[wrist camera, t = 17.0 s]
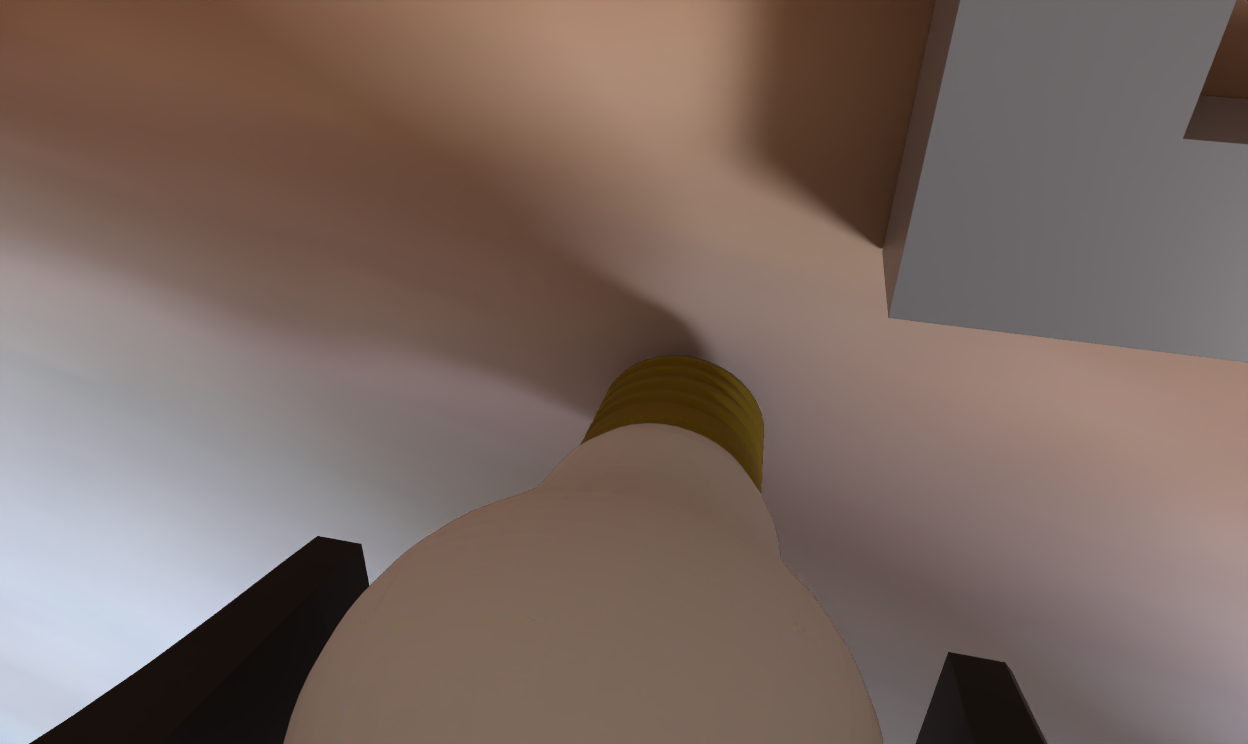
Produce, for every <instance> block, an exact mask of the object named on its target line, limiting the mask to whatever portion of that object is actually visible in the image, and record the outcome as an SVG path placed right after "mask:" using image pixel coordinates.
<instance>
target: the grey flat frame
mask: <svg viewBox="0 0 1248 744" xmlns="http://www.w3.org/2000/svg"><path fill="white" fill-rule="evenodd" d="M1236 1H1237V0H935V5H934V10H933V14H932V19H931V24H930V29H929V33H928V38H927V43H926V47H925V52H924V57H923V62H922V66H921V71H920V76H919V81H918V85H917V90H916V95H915V99H914V104H913V109H912V114H911V118H910V123H909V128H908V133H907V137H906V142H905V147H904V152H903V156H902V161H901V166H900V170H899V175H898V180H897V185H896V189H895V194H894V199H893V204H892V208H891V213H890V218H889V223H888V227H887V232H886V237H885V241H884V246H883V251H882V254H883V264H884V275H885V286H886V297H887V307H888V318H894V319H902V320H910V321H918V322H926V323H934V324H942V325H950V326H958V327H966V328H975V329H983V330H991V331H999V332H1007V333H1015V334H1023V335H1031V336H1039V337H1047V338H1055V339H1063V340H1071V341H1079V342H1087V343H1095V344H1103V345H1111V346H1119V347H1127V348H1135V349H1143V350H1151V351H1159V352H1167V353H1175V354H1183V355H1191V356H1199V357H1207V358H1215V359H1223V360H1231V361H1239V362H1247V363H1248V99H1241V98H1228V97H1216V96H1203V95H1200V93H1201V91H1202V88H1203V85H1204V83H1205V80H1206V78H1207V75H1208V73H1209V70H1210V67H1211V65H1212V62H1213V60H1214V57H1215V55H1216V52H1217V50H1218V47H1219V44H1220V42H1221V39H1222V37H1223V34H1224V32H1225V29H1226V26H1227V24H1228V21H1229V19H1230V16H1231V14H1232V11H1233V8H1234V6H1235V3H1236Z"/></svg>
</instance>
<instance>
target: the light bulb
mask: <svg viewBox="0 0 1248 744" xmlns="http://www.w3.org/2000/svg"><path fill="white" fill-rule="evenodd" d="M763 438H764V423H763V418H762V414H761V411H760V409H759V406H758V404H757V402H756V400H755V399H754V397H753V395H752V394H751V392H750V391H749V390H748V389H747V388H746V386H745V385H744V384H743V383H742V382H741V381H740V380H739V379H737V378H736V377H735V376H734V375H733V374H731V373H729V372H728V371H726V370H725V369H723V368H721V367H719V366H717V365H715V364H713V363H710V362H708V361H704V360H701V359H698V358H693V357H686V356H663V357H656V358H652V359H649V360H645V361H643V362H640V363H638V364H636V365H634V366H632V367H631V368H629V369H628V370H626V371H625V372H623V373H622V374H621V375H620V376H619V377H618V378H617V379H616V380H615V381H614V383H613V384H612V385H611V387H610V388H609V390H608V392H607V394H606V396H605V398H604V400H603V402H602V404H601V406H600V408H599V410H598V411H597V413H596V416H595V418H594V420H593V422H592V424H591V425H590V427H589V429H588V431H587V433H586V436H585V438H584V440H583V441H582V443H581V444H580V446H578V447H577V448H575V449H574V450H573V451H572V452H571V453H570V454H569V455H568V456H567V457H565V458H564V459H563V460H562V461H561V462H560V463H559V464H558V465H557V466H556V467H555V468H554V470H553V471H552V472H551V473H550V474H549V475H548V477H547V478H546V479H545V480H544V481H543V482H542V483H541V484H540V485H539V486H538V487H536V488H534V489H532V490H529V491H527V492H524V493H521V494H518V495H515V496H512V497H509V498H506V499H503V500H500V501H497V502H495V503H492V504H489V505H487V506H484V507H482V508H479V509H476V510H474V511H471V512H469V513H467V514H465V515H463V516H461V517H459V518H457V519H456V520H454V521H452V522H450V523H448V524H447V525H445V526H444V527H442V528H440V529H439V530H437V531H436V532H434V533H432V534H431V535H429V536H427V537H426V538H424V539H423V540H421V541H420V542H418V543H417V544H416V545H414V546H413V547H411V548H410V549H409V550H408V551H406V552H405V553H404V554H403V555H402V556H400V557H399V558H398V559H397V560H396V561H395V562H394V563H393V564H392V565H391V566H390V567H388V568H387V569H386V570H385V571H384V572H383V573H382V574H381V575H380V576H379V577H378V578H377V579H376V580H375V581H374V582H373V583H372V584H371V585H370V586H369V587H368V588H367V589H366V590H365V591H364V592H363V593H362V594H361V595H360V597H359V598H358V599H357V600H356V601H355V603H354V604H353V605H352V606H351V608H350V609H349V610H348V611H347V613H346V614H345V616H344V617H343V619H342V620H341V621H340V623H339V624H338V626H337V627H336V629H335V630H334V632H333V634H332V635H331V637H330V639H329V640H328V642H327V643H326V645H325V647H324V648H323V650H322V652H321V653H320V655H319V657H318V659H317V660H316V662H315V664H314V666H313V667H312V669H311V671H310V673H309V675H308V677H307V679H306V681H305V683H304V685H303V688H302V690H301V692H300V694H299V697H298V699H297V702H296V705H295V707H294V710H293V713H292V716H291V719H290V722H289V726H288V729H287V733H286V736H285V740H284V743H283V744H883V738H882V734H881V730H880V726H879V723H878V719H877V715H876V712H875V710H874V707H873V704H872V702H871V699H870V696H869V694H868V691H867V689H866V686H865V684H864V682H863V679H862V677H861V674H860V672H859V670H858V667H857V665H856V663H855V661H854V659H853V657H852V654H851V652H850V650H849V648H848V647H847V645H846V643H845V642H844V640H843V639H842V637H841V635H840V634H839V632H838V631H837V629H836V628H835V626H834V625H833V623H832V622H831V620H830V619H829V617H828V616H827V614H826V613H825V611H824V610H823V608H822V607H821V605H820V604H819V603H818V601H817V600H816V599H815V597H814V596H813V595H812V594H811V592H810V591H809V590H808V589H807V588H806V587H805V586H804V585H803V584H802V583H801V582H800V581H799V579H798V578H797V577H796V576H795V575H794V574H793V573H792V572H791V571H790V570H789V569H788V568H787V567H786V566H785V564H784V563H783V562H782V560H781V554H780V547H779V542H778V537H777V532H776V528H775V525H774V522H773V519H772V516H771V514H770V512H769V510H768V508H767V506H766V504H765V502H764V500H763V497H762V495H761V482H762V464H763Z"/></svg>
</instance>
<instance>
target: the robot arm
mask: <svg viewBox="0 0 1248 744" xmlns="http://www.w3.org/2000/svg"><path fill="white" fill-rule="evenodd" d="M368 587H369V581H368V576H367V571H366V566H365V560H364V555H363V550H362V545H361V544H358V543H353V542H348V541H342V540H337V539H331V538H326V537H320V536H317V537H316V538H314V539H313V540H312V541H310V542H309V543H308V544H306V545H305V546H304V547H302V548H301V549H300V550H298V551H297V552H296V553H294V554H293V555H292V556H290V557H289V558H288V559H286V560H285V561H284V562H282V563H281V564H280V565H278V566H277V567H276V568H274V569H273V570H272V571H271V572H269V573H268V574H267V575H265V576H264V577H263V578H261V579H260V580H259V581H258V582H256V583H255V584H254V585H252V586H251V587H250V588H248V589H247V590H246V591H245V592H243V593H242V594H241V595H239V596H238V597H237V598H235V599H234V600H233V601H231V602H230V603H229V604H228V605H226V606H225V607H224V608H222V609H221V610H220V611H218V612H217V613H216V614H214V615H213V616H212V617H210V618H209V619H208V620H206V621H205V622H204V623H202V624H201V625H200V626H198V627H197V628H196V629H194V630H193V631H192V632H190V633H189V634H188V635H186V636H185V637H184V638H182V639H181V640H179V641H178V642H177V643H175V644H174V645H173V646H171V647H170V648H169V649H167V650H166V651H165V652H163V653H162V654H161V655H159V656H158V657H156V658H155V659H154V660H152V661H151V662H150V663H148V664H147V665H145V666H144V667H143V668H141V669H140V670H138V671H137V672H135V673H134V674H133V675H131V676H130V677H128V678H127V679H125V680H124V681H122V682H121V683H119V684H118V685H117V686H115V687H114V688H112V689H111V690H109V691H108V692H106V693H105V694H103V695H102V696H101V697H99V698H98V699H96V700H95V701H93V702H92V703H90V704H89V705H87V706H86V707H85V708H83V709H82V710H80V711H79V712H77V713H76V714H74V715H73V716H71V717H70V718H68V719H67V720H65V721H64V722H62V723H61V724H59V725H58V726H56V727H54V728H53V729H51V730H50V731H48V732H47V733H45V734H44V735H42V736H41V737H39V738H37V739H36V740H34V741H33V742H31V743H29V744H283V743H284V740H285V736H286V733H287V729H288V726H289V722H290V719H291V716H292V713H293V710H294V707H295V705H296V702H297V699H298V697H299V694H300V692H301V690H302V688H303V685H304V683H305V681H306V679H307V677H308V675H309V673H310V671H311V669H312V667H313V666H314V664H315V662H316V660H317V659H318V657H319V655H320V653H321V652H322V650H323V648H324V647H325V645H326V643H327V642H328V640H329V639H330V637H331V635H332V634H333V632H334V630H335V629H336V627H337V626H338V624H339V623H340V621H341V620H342V619H343V617H344V616H345V614H346V613H347V611H348V610H349V609H350V608H351V606H352V605H353V604H354V603H355V601H356V600H357V599H358V598H359V597H360V595H361V594H362V593H363V592H364V591H365V590H366V589H367V588H368ZM916 744H1047V742H1046V740H1045V738H1044V736H1043V734H1042V732H1041V730H1040V728H1039V726H1038V724H1037V722H1036V720H1035V718H1034V716H1033V714H1032V712H1031V710H1030V708H1029V706H1028V704H1027V702H1026V700H1025V698H1024V696H1023V694H1022V691H1021V689H1020V687H1019V685H1018V683H1017V681H1016V679H1015V677H1014V675H1013V673H1012V671H1011V670H1010V668H1009V667H1008V666H1007V665H1006V663H1005V662H1000V661H994V660H989V659H983V658H978V657H972V656H967V655H961V654H956V653H951V652H948V655H947V658H946V660H945V663H944V666H943V669H942V672H941V674H940V677H939V680H938V683H937V686H936V688H935V691H934V694H933V697H932V700H931V702H930V705H929V708H928V711H927V714H926V716H925V719H924V722H923V725H922V728H921V730H920V733H919V736H918V739H917V742H916Z"/></svg>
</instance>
